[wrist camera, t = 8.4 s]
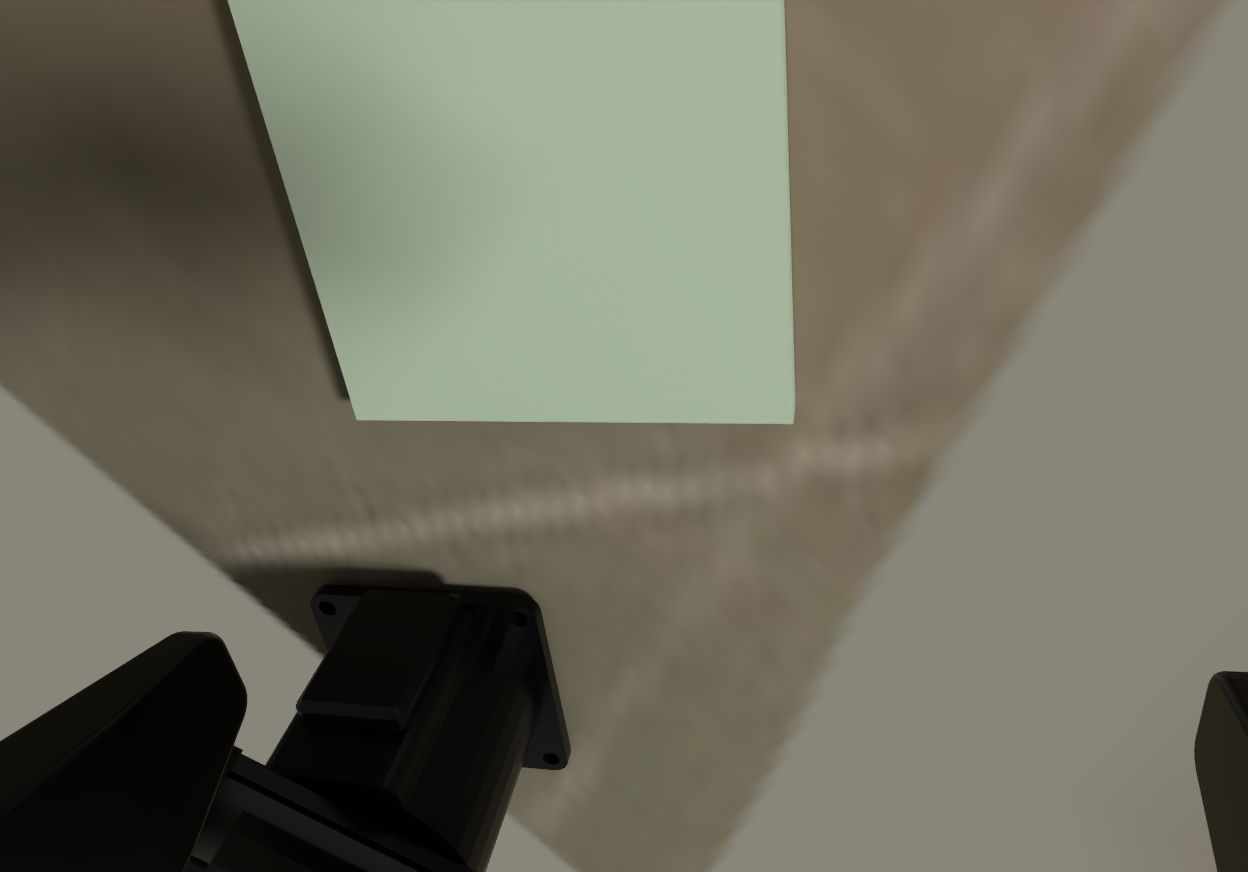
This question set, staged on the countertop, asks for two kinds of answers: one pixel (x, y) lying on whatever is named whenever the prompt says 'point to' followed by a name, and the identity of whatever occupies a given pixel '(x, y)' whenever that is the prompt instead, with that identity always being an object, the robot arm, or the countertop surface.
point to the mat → (540, 202)
